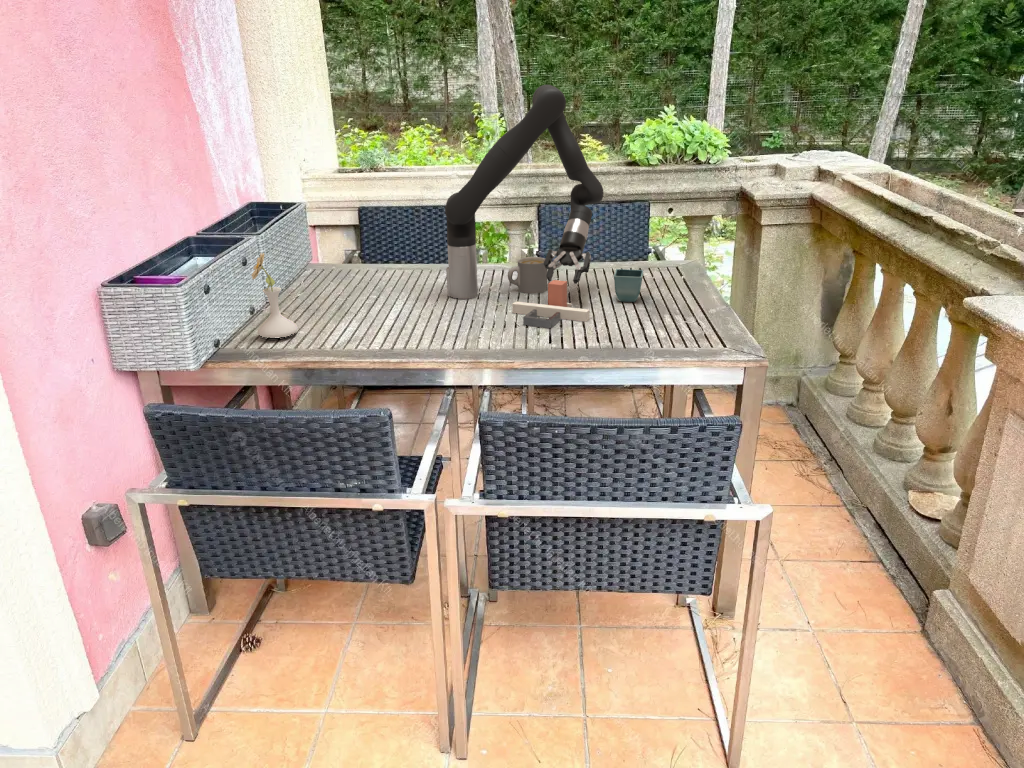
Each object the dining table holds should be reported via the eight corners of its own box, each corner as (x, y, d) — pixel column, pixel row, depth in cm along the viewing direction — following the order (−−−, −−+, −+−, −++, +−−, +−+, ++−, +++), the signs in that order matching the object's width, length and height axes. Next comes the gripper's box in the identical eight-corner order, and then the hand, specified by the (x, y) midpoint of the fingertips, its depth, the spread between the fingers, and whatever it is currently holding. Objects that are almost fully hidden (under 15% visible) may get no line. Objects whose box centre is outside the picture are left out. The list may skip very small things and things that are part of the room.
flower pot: (640, 304, 243) (642, 276, 240) (612, 303, 245) (613, 275, 241) (642, 296, 251) (643, 269, 248) (615, 295, 253) (615, 268, 249)
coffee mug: (546, 285, 266) (546, 256, 262) (548, 293, 257) (548, 263, 253) (507, 286, 266) (506, 257, 262) (508, 294, 257) (507, 264, 253)
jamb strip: (512, 313, 238) (512, 303, 236) (527, 303, 247) (526, 293, 246) (586, 321, 228) (586, 312, 227) (598, 311, 238) (598, 301, 237)
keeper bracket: (523, 325, 227) (523, 317, 226) (533, 317, 233) (533, 309, 232) (550, 328, 223) (550, 320, 222) (560, 320, 230) (560, 312, 229)
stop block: (548, 312, 238) (548, 283, 235) (553, 307, 242) (553, 279, 238) (561, 313, 236) (561, 285, 233) (566, 309, 240) (567, 281, 237)
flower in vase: (265, 329, 228) (252, 245, 218) (303, 329, 227) (292, 245, 218) (250, 344, 216) (236, 256, 206) (290, 344, 215) (278, 256, 206)
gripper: (550, 228, 243) (537, 273, 238) (593, 231, 238) (580, 277, 233) (556, 241, 250) (543, 285, 245) (598, 244, 244) (586, 289, 239)
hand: (561, 281), depth 239 cm, fingers open, 8 cm apart
